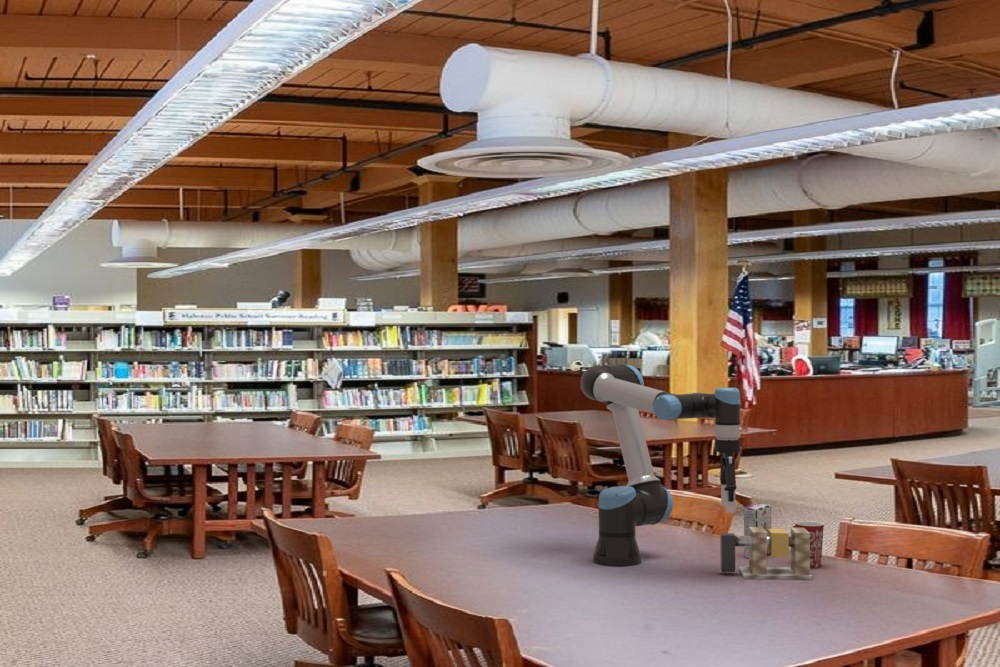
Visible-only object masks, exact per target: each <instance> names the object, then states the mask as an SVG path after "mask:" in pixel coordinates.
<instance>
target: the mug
mask: <svg viewBox="0 0 1000 667" xmlns="http://www.w3.org/2000/svg"><path fill="white" fill-rule="evenodd" d="M824 527H825V523H824V522H820V521H815V520H799V521H795V522H794V525H793V526H791V528H805V529H806V530H807V531H808V532H809V533H810V569H818V568H821V567H822V555H823V542H824V541H823V540H824Z"/></svg>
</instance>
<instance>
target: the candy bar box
mask: <svg viewBox="0 0 1000 667" xmlns="http://www.w3.org/2000/svg"><path fill="white" fill-rule="evenodd" d="M749 527H763V529H764V530H765V531H766V532H767V536H768V529H772V505H771V504H765V503H758V504H754V505H750V506H746V507H744V508H743V530H744V531H743V533H744V535H743V536H749ZM768 556H771V553H768V547H767V557H768ZM744 559H749V547H744Z"/></svg>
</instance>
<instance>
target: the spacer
mask: <svg viewBox="0 0 1000 667" xmlns="http://www.w3.org/2000/svg"><path fill="white" fill-rule="evenodd" d="M789 533H790V532H788V531H787V530H786V529H785V528H771V529H768V536H770V537H771V547H768V553H771V555H770V557H771V558H789V555H790V553H789V550H790V547H789V536H790V534H789Z"/></svg>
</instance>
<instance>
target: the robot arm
mask: <svg viewBox="0 0 1000 667" xmlns="http://www.w3.org/2000/svg"><path fill="white" fill-rule="evenodd" d="M580 389H581V391H582V394H584V396H585V397H586V398H588V399H590V400H593V401H598V402H601V403H605V406H606V409H608V410H609V411H611V413H612V415H613V416H612V417H613V421H614V424H615V430H616V433H617V437H618V441H619V445H620V446H619V447H620V450H621V454H622V458H623V462H624V466H625V470H626V476H627V479H628V482H627V484H626V485H619V486H610V487H608V488H605V489H603V490H602V491H601V492H600V493H599V495H598V503H597V506H598V538H597V542H596V545H595V548H594V551H593V557H592V559H593V563H595V564H599V565H602V566H611V567H612V566H613V567H616V566H617V567H618V566H619V567H623V566H625V567H626V566H634V565H639V564H641V563H642V555H641V551H640V548H639V545H638V542H637V539H636V527H641V526H648V525H652V526H654V525H657V524H661V523H664V522H666V521H667V520H668V519H669V518H670V515H671V513H672V511H673V508H674V507H673V506H674V501H673V496H672V494H671V492H670V491H669V490H668V489H667V488H666V487H663V486H662V482H661V479H660V478H658V477H657V476H655V473H654V469H653V465H652V461H651V457H650V451H649V448H648V443H647V441H646V435H645V431H644V427H643V424H642V419H641V416H640V411H641V412H642V411H643V412H646V413H650V414H652V415H655V416H656V417H657V418H658V419H659V420H662V421H663V420H664V421H673V420H682V419H683V420H684V419H685V420H687V419H701V418H702V419H714V438H716V439H715V440H714V446H715V447H714V449H715V450H714V451H715V452H716V453H717V452H718V453H721V454H720V478H719V481H720V506H721V507H725V512H726V513H731V514H733V513H734V514H735V513H736V490H737V481H736V479H737V478H736V465H735V464H736V457H735V456H733V455H734V454H733V453H735V454H736V453H739V452H741V440H740V438H741V432H742V431H743V427H741V395H740V394H741V392H740V390H739V388H737V387H717V388H715V390H714V393H705V392H691V393H682V394H677V393H671V392H667V391H664V390H660V389H657V388H653V387H650V386H645V383H644V379H643V376H642V373H641V372H640V371H639V369H638V368H636V367H634V366H633V365H630V364H624V363H619V364H596V365H593V366H591V367H588V368H587V369H586V370H584V372H583V374H582V375H581V377H580Z"/></svg>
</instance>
